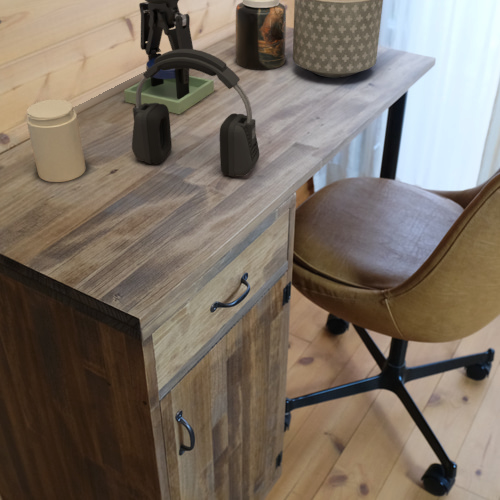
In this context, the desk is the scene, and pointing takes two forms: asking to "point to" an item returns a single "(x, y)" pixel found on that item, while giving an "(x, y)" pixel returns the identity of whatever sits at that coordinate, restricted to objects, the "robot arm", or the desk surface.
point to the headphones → (158, 122)
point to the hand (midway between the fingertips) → (170, 90)
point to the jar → (260, 34)
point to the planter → (336, 35)
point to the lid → (161, 71)
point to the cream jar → (55, 140)
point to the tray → (171, 93)
